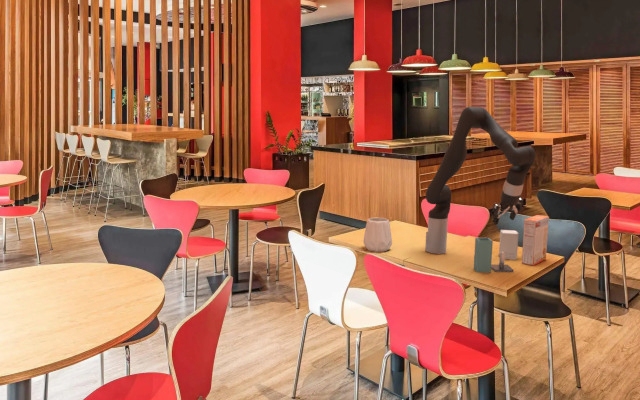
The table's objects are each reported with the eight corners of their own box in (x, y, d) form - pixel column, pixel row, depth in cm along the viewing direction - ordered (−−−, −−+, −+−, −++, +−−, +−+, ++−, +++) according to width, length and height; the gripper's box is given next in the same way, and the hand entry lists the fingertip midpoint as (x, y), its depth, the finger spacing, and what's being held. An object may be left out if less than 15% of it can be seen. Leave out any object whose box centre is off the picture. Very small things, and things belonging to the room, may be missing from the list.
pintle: (494, 272, 230) (496, 254, 228) (489, 266, 237) (490, 249, 236) (513, 272, 229) (514, 254, 228) (507, 266, 237) (508, 249, 236)
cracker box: (533, 257, 253) (537, 214, 249) (546, 260, 248) (549, 216, 245) (520, 263, 243) (523, 218, 239) (533, 266, 239) (536, 220, 235)
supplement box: (517, 260, 248) (519, 233, 246) (500, 259, 249) (502, 232, 247) (514, 255, 255) (516, 230, 253) (498, 254, 257) (500, 229, 254)
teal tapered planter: (477, 272, 229) (479, 240, 226) (473, 268, 234) (475, 237, 232) (490, 272, 229) (492, 241, 226) (486, 268, 234) (488, 237, 232)
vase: (368, 253, 257) (368, 222, 255) (360, 246, 271) (360, 217, 268) (395, 252, 260) (396, 221, 257) (386, 244, 274) (387, 216, 271)
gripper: (519, 182, 225) (511, 212, 235) (492, 189, 221) (484, 219, 230) (532, 191, 220) (522, 222, 229) (504, 198, 215) (495, 230, 225)
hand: (503, 221), depth 230 cm, fingers open, 8 cm apart
